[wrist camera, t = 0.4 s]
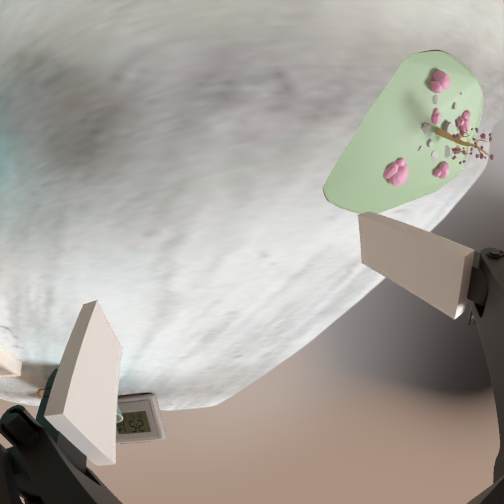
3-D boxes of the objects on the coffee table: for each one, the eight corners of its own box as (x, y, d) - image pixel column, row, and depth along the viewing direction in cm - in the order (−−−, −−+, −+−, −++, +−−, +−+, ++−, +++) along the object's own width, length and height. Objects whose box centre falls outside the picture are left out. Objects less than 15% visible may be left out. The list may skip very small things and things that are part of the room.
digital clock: (157, 390, 53) (164, 436, 46) (163, 402, 59) (170, 442, 52) (88, 393, 49) (91, 438, 42) (101, 405, 55) (104, 445, 48)
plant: (372, 246, 38) (406, 295, 32) (283, 158, 25) (329, 218, 19) (484, 139, 28) (527, 174, 22) (446, 17, 16) (516, 39, 9)
